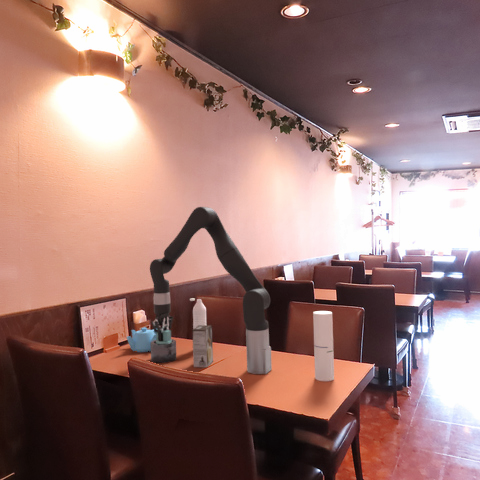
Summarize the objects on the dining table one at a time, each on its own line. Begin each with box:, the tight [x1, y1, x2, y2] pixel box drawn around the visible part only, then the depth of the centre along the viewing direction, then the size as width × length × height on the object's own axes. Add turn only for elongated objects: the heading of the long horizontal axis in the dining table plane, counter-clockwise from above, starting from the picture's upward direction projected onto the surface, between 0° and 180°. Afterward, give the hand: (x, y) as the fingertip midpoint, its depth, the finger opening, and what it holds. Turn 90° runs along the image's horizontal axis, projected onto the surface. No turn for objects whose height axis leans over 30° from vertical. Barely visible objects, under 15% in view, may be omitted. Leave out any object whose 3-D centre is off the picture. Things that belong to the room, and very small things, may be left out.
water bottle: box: [189, 297, 208, 330], centre depth 206 cm, size 9×6×25 cm
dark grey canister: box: [150, 338, 177, 364], centre depth 192 cm, size 11×11×8 cm
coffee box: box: [191, 324, 214, 368], centre depth 183 cm, size 9×6×16 cm
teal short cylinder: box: [156, 328, 172, 344], centre depth 192 cm, size 7×7×6 cm
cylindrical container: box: [312, 310, 335, 382], centre depth 161 cm, size 7×7×25 cm
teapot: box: [126, 326, 156, 353], centre depth 211 cm, size 15×15×11 cm
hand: (163, 340), depth 192 cm, fingers closed on teal short cylinder, 3 cm apart
